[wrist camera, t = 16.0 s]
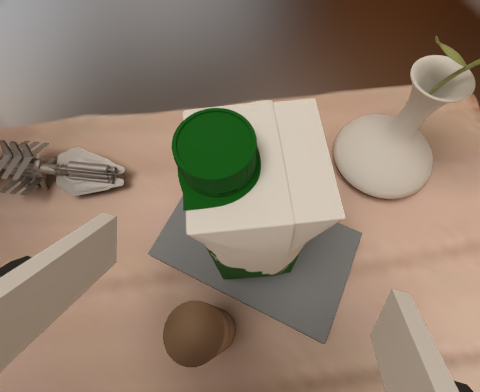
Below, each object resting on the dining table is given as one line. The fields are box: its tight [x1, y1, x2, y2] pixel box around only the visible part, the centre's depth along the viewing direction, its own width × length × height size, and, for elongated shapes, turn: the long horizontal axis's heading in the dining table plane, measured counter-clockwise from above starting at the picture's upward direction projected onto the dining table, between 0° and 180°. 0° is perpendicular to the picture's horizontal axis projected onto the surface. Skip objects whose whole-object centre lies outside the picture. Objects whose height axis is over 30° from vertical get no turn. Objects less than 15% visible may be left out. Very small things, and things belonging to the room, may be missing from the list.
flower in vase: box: [333, 36, 480, 199], centre depth 25 cm, size 13×11×25 cm
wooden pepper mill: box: [163, 301, 236, 367], centre depth 25 cm, size 4×4×11 cm
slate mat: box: [148, 197, 362, 344], centre depth 33 cm, size 20×12×1 cm, turn 64°
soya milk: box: [172, 98, 345, 279], centre depth 23 cm, size 9×9×20 cm
